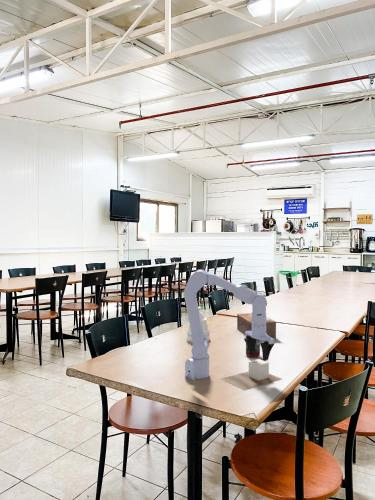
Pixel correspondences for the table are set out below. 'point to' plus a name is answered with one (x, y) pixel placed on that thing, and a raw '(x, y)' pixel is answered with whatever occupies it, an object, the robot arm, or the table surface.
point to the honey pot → (204, 326)
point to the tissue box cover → (246, 324)
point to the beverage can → (257, 348)
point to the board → (248, 380)
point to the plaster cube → (258, 369)
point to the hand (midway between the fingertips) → (258, 357)
